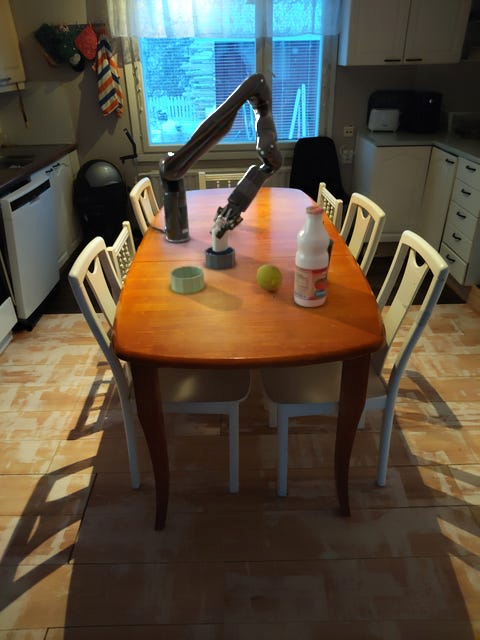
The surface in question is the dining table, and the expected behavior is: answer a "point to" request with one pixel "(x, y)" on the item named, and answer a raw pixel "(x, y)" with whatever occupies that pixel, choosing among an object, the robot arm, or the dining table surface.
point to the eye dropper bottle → (219, 243)
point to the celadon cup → (187, 279)
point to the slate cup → (220, 258)
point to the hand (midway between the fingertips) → (214, 236)
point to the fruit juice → (312, 260)
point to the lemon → (269, 277)
